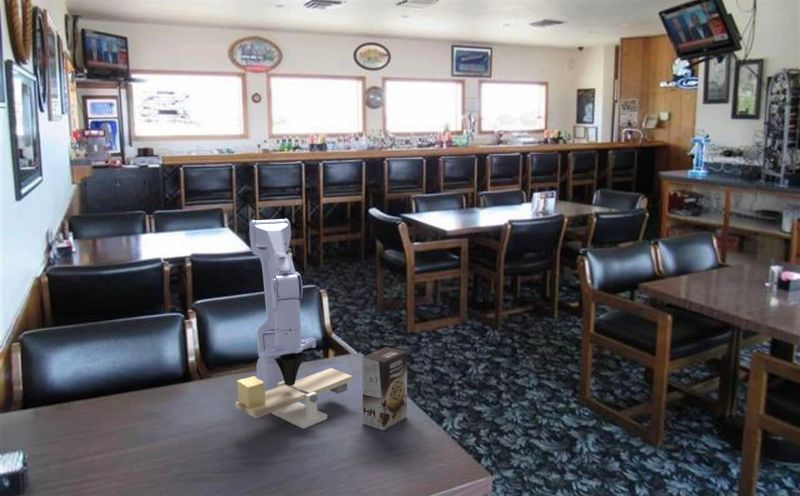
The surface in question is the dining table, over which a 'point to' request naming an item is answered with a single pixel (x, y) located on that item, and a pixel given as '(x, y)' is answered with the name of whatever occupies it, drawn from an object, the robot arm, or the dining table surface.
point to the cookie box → (384, 388)
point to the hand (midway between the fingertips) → (289, 384)
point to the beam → (299, 391)
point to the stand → (301, 411)
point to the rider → (251, 392)
